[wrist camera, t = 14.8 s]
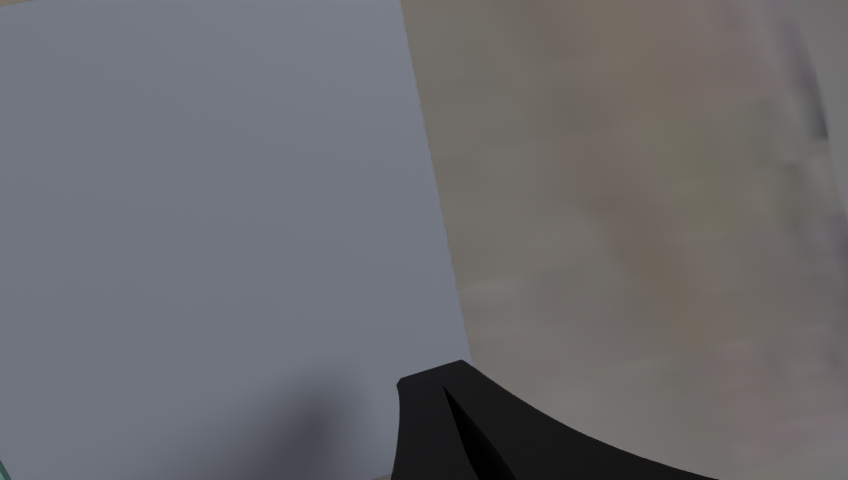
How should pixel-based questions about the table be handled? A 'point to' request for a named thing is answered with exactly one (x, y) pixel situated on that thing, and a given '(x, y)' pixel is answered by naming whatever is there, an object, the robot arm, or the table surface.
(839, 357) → the table surface
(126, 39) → the board
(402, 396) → the robot arm
